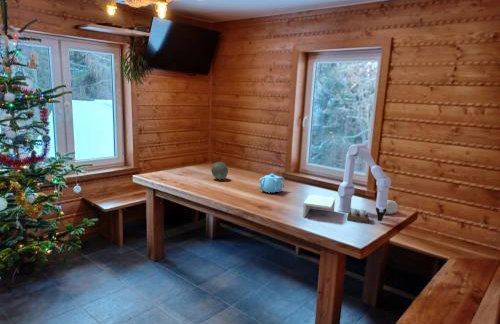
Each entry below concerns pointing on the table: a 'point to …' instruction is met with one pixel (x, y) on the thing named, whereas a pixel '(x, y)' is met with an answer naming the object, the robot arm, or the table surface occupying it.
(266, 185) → the decorative pot
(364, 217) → the walnut tray
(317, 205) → the white shelf
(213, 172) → the cantaloupe
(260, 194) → the table surface
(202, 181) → the table surface
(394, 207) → the grey rounded lump
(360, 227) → the table surface
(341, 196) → the robot arm
